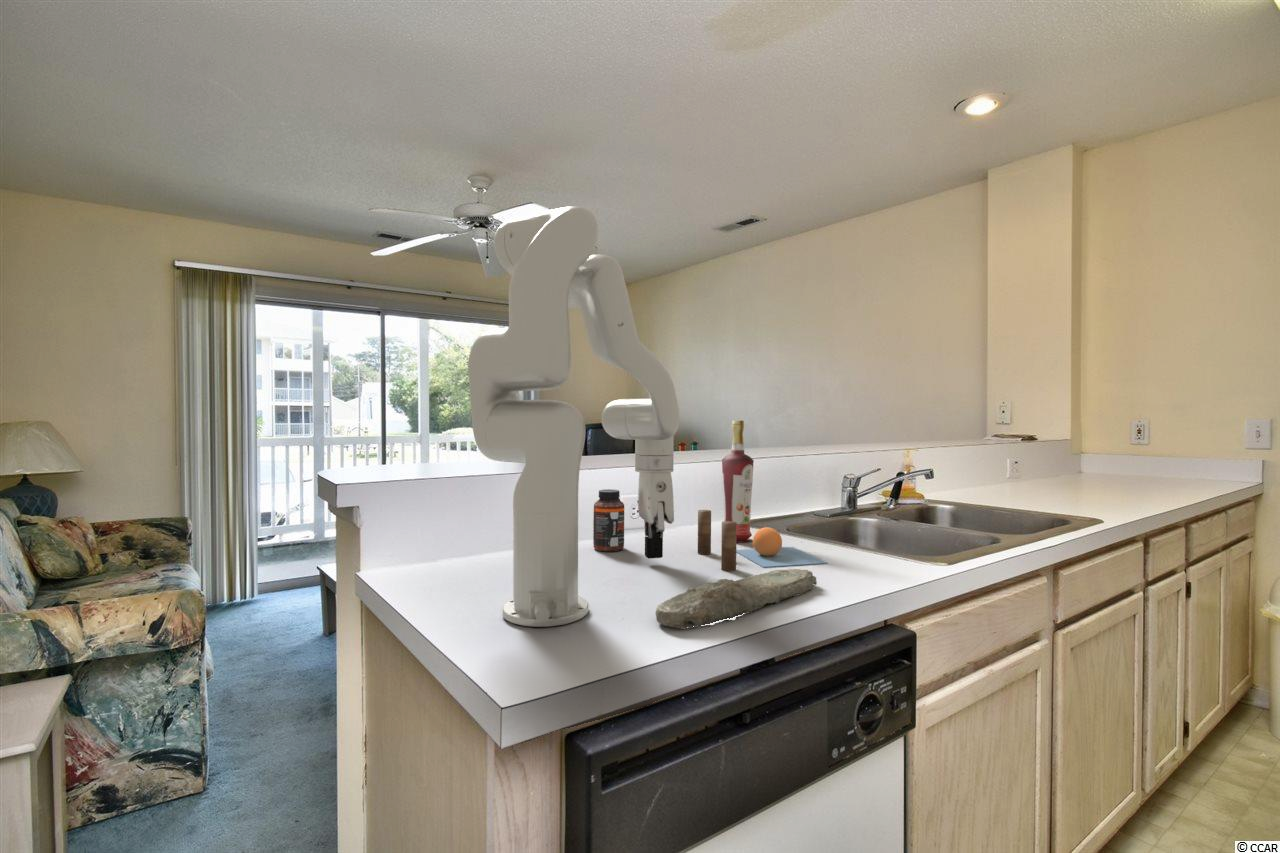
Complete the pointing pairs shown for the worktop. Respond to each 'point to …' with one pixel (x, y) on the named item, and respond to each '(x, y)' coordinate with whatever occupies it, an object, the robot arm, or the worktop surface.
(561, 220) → the robot arm
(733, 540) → the post
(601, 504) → the supplement bottle
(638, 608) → the worktop surface
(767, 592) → the long grey stone
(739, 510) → the liquor
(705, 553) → the post
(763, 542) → the ball
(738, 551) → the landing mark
